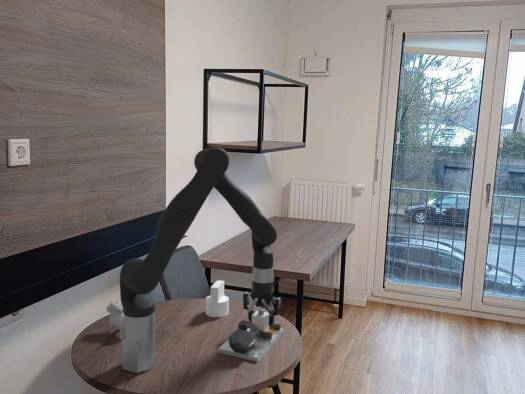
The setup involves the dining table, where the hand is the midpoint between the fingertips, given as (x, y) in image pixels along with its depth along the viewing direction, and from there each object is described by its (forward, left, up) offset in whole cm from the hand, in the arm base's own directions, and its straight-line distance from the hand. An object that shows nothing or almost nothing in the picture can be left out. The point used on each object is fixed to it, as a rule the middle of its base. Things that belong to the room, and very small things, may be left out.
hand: (261, 322), depth 171 cm
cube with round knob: (0, 0, -3) cm, 3 cm away
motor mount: (-7, 0, -4) cm, 8 cm away
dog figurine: (-22, +45, -4) cm, 50 cm away
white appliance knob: (+10, +23, -4) cm, 25 cm away
